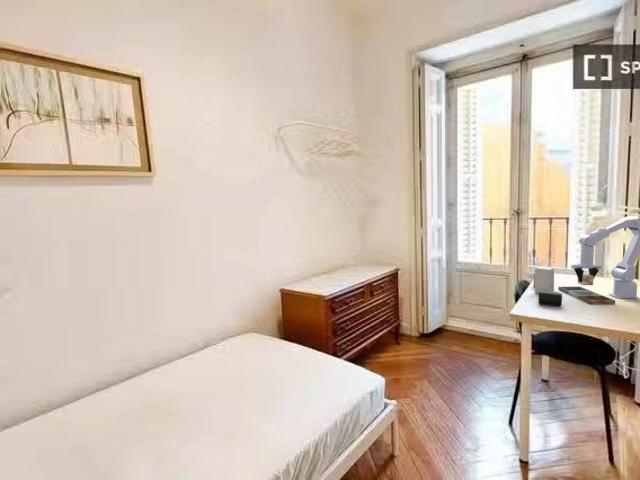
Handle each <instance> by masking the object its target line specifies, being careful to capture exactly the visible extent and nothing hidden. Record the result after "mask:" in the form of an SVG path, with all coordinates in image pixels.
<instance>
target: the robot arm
mask: <svg viewBox="0 0 640 480" xmlns="http://www.w3.org/2000/svg"><path fill="white" fill-rule="evenodd" d="M624 228H626V229H628V230H630V231H631V233H632V237H631V240H630V241H629V244H628V246H627V249H626V251H625V252H624V255H623V257H622V259H621V261H619V262H618V263H616V265H615V266H614V267H613V268H612V270H611V272H610V273H611V276H612V277H613V291H612V292H613V293H608V295H610V296H612V297H615V298H617V299H638V298H639V297H638V296H637V295H638V293H637V292H638V284H637V282H636V281H635V278H636V272H637V268H636V267H635V264H636V261H637V260H638V257H639V256H640V215H639V216H638V215H637V216H635V215H627V216H625V217H622V218H621V219H620V220H617V222H615V223H613V224H611V225H609V226H607V227H605V228H604V227H597V228H596V230H594V231H591V232H589V233H588V234H584V235H583V234H582V235H581V236H580V238H579V239H578V242H579V244H580V259H579V260H580V261H579V262H580V263H579V264H571V265H570V266H571V267H570V268H571V270H572V269H573V271H574V272H575V274H576V277H577V282H578V281H579V282H582V277H583V274H584V272H585V270H584V269H588V275H591V276H594V277H593V281H594V280H595V278H596V276H597V274H598V273H599V271H600V270H602V269H603V265H602V264H594V259H595V258H594V257H595V256H594V255H595V253H594V252H595V246H597V244H598V242H601V241H603V240H604V239H607V238H609V237H610V234H612V233H615V232H617V231H619V230H621V229H624Z"/></svg>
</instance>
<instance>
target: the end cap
mask: <svg viewBox="0 0 640 480" xmlns="http://www.w3.org/2000/svg"><path fill="white" fill-rule="evenodd" d="M562 293H563V292H562ZM562 293H561V292H560V291H559V292H558V291H554V292H553V293H552V292H547V291H539V293H538V304H539V305H544V306H545V305H546V306H555V307H561V306H562V305H563V304H562V303H563V294H562Z"/></svg>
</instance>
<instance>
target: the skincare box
mask: <svg viewBox="0 0 640 480" xmlns="http://www.w3.org/2000/svg"><path fill="white" fill-rule="evenodd" d="M534 274H535V287H534V293H535V294H539V291H547V292H552V293H553V292H555V268H554V267H545V266H544V267H543V266H537V267H535V268H534Z"/></svg>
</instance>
